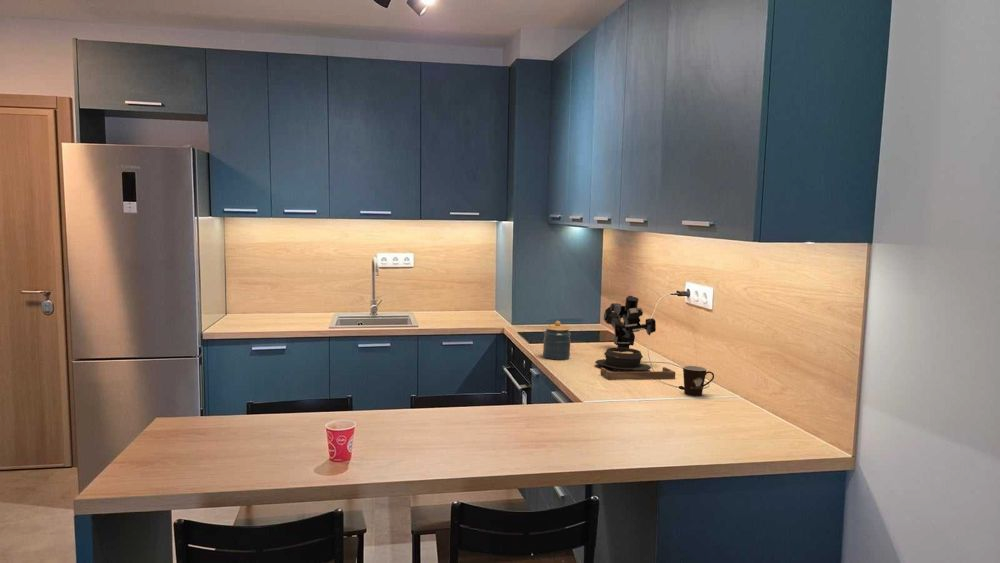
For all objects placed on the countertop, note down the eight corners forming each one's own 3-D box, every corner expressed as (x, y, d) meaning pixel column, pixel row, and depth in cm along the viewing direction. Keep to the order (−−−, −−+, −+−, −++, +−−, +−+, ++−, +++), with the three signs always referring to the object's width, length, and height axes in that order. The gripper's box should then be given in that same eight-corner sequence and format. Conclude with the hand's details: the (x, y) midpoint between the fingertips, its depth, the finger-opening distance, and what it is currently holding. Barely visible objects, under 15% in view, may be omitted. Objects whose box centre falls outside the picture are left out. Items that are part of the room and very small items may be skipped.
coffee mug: (681, 395, 244) (682, 369, 243) (681, 390, 252) (683, 365, 251) (713, 398, 240) (715, 372, 239) (712, 393, 248) (714, 368, 248)
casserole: (588, 368, 285) (589, 349, 285) (603, 361, 301) (604, 344, 301) (643, 376, 273) (644, 357, 272) (656, 369, 289) (657, 350, 288)
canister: (538, 355, 311) (540, 318, 309) (563, 354, 314) (565, 318, 313) (548, 360, 298) (550, 323, 297) (574, 360, 302) (576, 322, 301)
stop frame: (600, 374, 273) (600, 367, 273) (664, 373, 280) (665, 367, 280) (608, 379, 264) (609, 372, 264) (675, 378, 271) (675, 371, 271)
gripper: (610, 307, 299) (618, 322, 285) (650, 302, 300) (660, 316, 285) (611, 329, 303) (619, 344, 289) (650, 324, 304) (660, 339, 289)
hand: (639, 335), depth 288 cm, fingers open, 9 cm apart
